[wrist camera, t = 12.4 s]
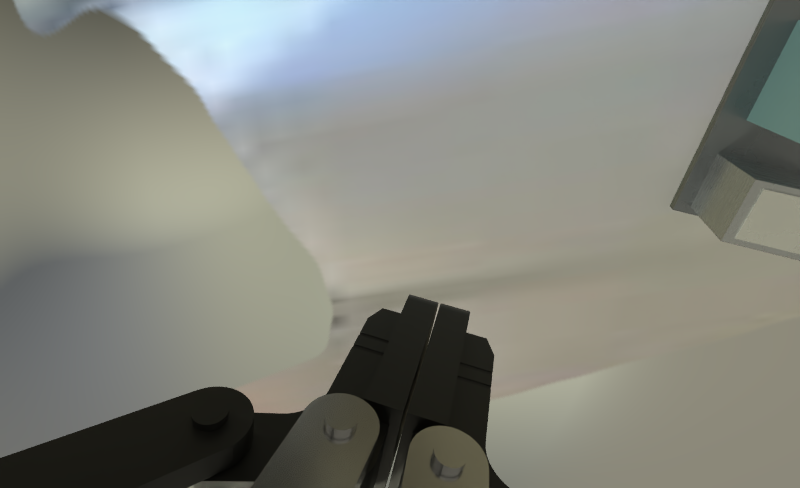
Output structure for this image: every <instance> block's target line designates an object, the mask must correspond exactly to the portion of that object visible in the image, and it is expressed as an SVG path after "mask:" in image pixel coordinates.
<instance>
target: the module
mask: <svg viewBox="0 0 800 488" xmlns="http://www.w3.org/2000/svg"><path fill="white" fill-rule="evenodd" d="M747 121H749V122H752V123H754V124H756V125H758V126H761V127H763V128H765V129H768V130H770V131H772V132H774V133H777V134H779V135H781V136H784V137H786V138H788V139H790V140H793V141H795V142H797V143H800V20H798V21H797V23H796V25H795V27H794V29H793V31H792V33H791V35H790V37H789V39H788V41H787V43H786V45H785V47H784V48H783V50H782V52H781V54H780V56H779V58H778V60H777V62H776V64H775V66H774V68H773V70H772V72H771V74H770V75H769V77H768V79H767V81H766V83H765V85H764V87H763V89H762V91H761V93H760V95H759V97H758V99H757V101H756V103H755V104H754V106H753V108H752V110H751V112H750V114H749V116H748V118H747Z"/></svg>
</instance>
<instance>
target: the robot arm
mask: <svg viewBox="0 0 800 488" xmlns="http://www.w3.org/2000/svg"><path fill="white" fill-rule="evenodd" d="M437 307H438V302H434V301H431V300H427V299H424V298H420V297H417V296H413V295H409V296H408V299H407V301H406V303H405V305H404V308H403V310H402V312H401V313H397V312H394V311H390V310H387V309H381V310H380V311H378V312H377V313H375V314H373V315H372V316H370V317H369V318H368V319H367V321H366V323H365V325H364V326H363V328H362V330H361V332H360V335H359V336H358V338H357V339H356V341H355V343H354V346H353V347H352V349H351V350H350V352H349V354H348V356H347V358H346V360H345V362H344V363H343V365H342V367H341V369H340V371H339V373H338V374H337V376H336V378H335V380H334V382H333V384H332V386H331V387H330V389H329V391H328V393H327V394H326V395H324V396H321V397H319V398H317V399H315V400H314V401H312V402H311V403H310V404H309V405H308V406H307V407H306V408H305V410H303V411H300V412H296V413H289V414H275V413H254V410H253V406H252V404H251V402H250V400H249V399H248V398H247V397H246V396H245V395H244V394H243V393H241V392H239V391H237V390H235V389H232V388H227V387H208V388H204V389H200V390H197V391H193V392H191V393H188V394H185V395H182V396H179V397H176V398H173V399H171V400H167V401H165V402H162V403H159V404H156V405H153V406H150V407H147V408H144V409H141V410H139V411H135V412H133V413H130V414H127V415H124V416H121V417H118V418H115V419H112V420H109V421H106V422H104V423H101V424H98V425H95V426H92V427H89V428H86V429H83V430H81V431H78V432H75V433H72V434H69V435H66V436H63V437H60V438H57V439H54V440H51V441H49V442H46V443H43V444H40V445H37V446H34V447H31V448H28V449H26V450H23V451H20V452H17V453H14V454H11V455H8V456H5V457H2V458H0V488H385V487H386V483H387V480H388V477H389V474H390V470H391V467H392V464H393V460H394V457H395V453H396V451H397V447H398V444H399V447H398V451H397V455H396V459H395V463H394V467H393V471H392V475H391V479H390V483H389V487H388V488H509V487H508V486H507V485H505V484H504V483H503V482H502V481H501V479H500V478H499V477H498V476H497V475H496V473H495V472H494V470H493V469H492V467H491V465H490V463H489V460H488V458H487V454H486V449H485V445H486V432H487V422H488V412H489V402H490V392H491V389H490V388H491V382H492V372H493V362H494V354H493V352H492V349H491V347H490V345H489V343H488V340H487V339H486V338H483V337H480V336H476V335H473V334H469V333H466V330H467V325H468V320H469V315H470V312H469V311H466V310H462V309H459V308H455V307H452V306H448V305H445V304H440V308H439V311H438V314H437V317H436V321H435V324H434V327H433V323H434V319H435V315H436V311H437ZM432 327H433V330H432ZM431 331H432V334H431ZM430 334H431V337H430ZM429 338H430V340H429ZM428 342H429V343H428ZM401 434H402V435H401ZM400 438H401V439H400ZM399 441H400V443H399Z"/></svg>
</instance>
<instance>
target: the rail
mask: <svg viewBox="0 0 800 488" xmlns="http://www.w3.org/2000/svg"><path fill="white" fill-rule="evenodd" d="M798 20H800V0H770V1H769V3H768V5H767V7H766V9H765V11H764V13H763V15H762V17H761V19H760V21H759V23H758V25H757V27H756V29H755V31H754V34H753V36H752V38H751V40H750V42H749V44H748V46H747V48H746V50H745V52H744V54H743V56H742V58H741V60H740V62H739V65H738V67H737V69H736V71H735V73H734V75H733V77H732V79H731V81H730V83H729V85H728V87H727V89H726V91H725V93H724V95H723V98H722V100H721V102H720V104H719V106H718V108H717V110H716V112H715V114H714V116H713V118H712V120H711V122H710V124H709V126H708V128H707V131H706V133H705V135H704V137H703V139H702V141H701V143H700V145H699V147H698V149H697V151H696V153H695V155H694V157H693V159H692V161H691V164H690V166H689V168H688V170H687V172H686V174H685V176H684V178H683V180H682V182H681V184H680V186H679V188H678V190H677V192H676V194H675V197H674V199H673V201H672V203H671V205H670V207H671V208H672V209H673V210H676V211H680V212H684V213H688V214H693V215H697V216H699V217H700V218H701V219H702V220H703V222H704V223H705V224H706V225H707V226H708V227H709V228H710V229H711V231H712V232H713V233H714V234H715V235H716V236H717V237H718V238H719V239H720V241H722V242H726V243H730V244H734V245H739V246H743V247H747V248H751V249H755V250H759V251H763V252H767V253H771V254H775V255H779V256H783V257H787V258H791V259H795V260H799V261H800V143H797V142H795V141H793V140H790V139H788V138H786V137H784V136H781V135H779V134H777V133H774V132H772V131H770V130H768V129H765V128H763V127H761V126H758V125H756V124H754V123H752V122H749V121H747V118H748V116H749V114H750V112H751V110H752V108H753V106H754V104H755V103H756V101H757V99H758V97H759V95H760V93H761V91H762V89H763V87H764V85H765V83H766V81H767V79H768V77H769V75H770V74H771V72H772V70H773V68H774V66H775V64H776V62H777V60H778V58H779V56H780V54H781V52H782V50H783V48H784V47H785V45H786V43H787V41H788V39H789V37H790V35H791V33H792V31H793V29H794V27H795V25H796V23H797V21H798Z"/></svg>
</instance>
